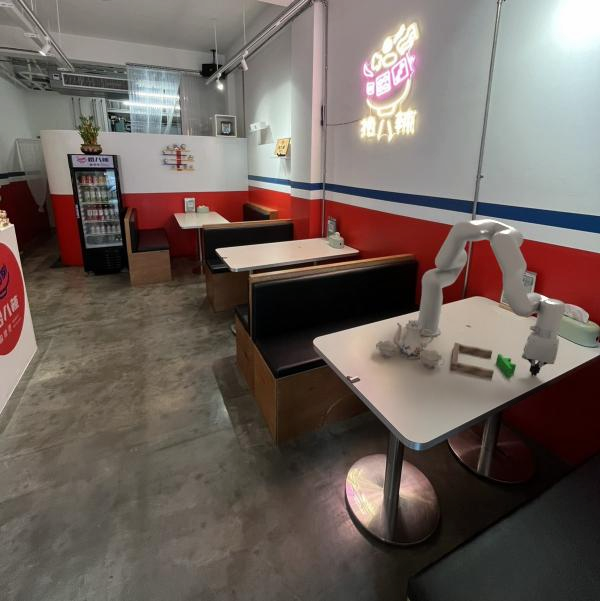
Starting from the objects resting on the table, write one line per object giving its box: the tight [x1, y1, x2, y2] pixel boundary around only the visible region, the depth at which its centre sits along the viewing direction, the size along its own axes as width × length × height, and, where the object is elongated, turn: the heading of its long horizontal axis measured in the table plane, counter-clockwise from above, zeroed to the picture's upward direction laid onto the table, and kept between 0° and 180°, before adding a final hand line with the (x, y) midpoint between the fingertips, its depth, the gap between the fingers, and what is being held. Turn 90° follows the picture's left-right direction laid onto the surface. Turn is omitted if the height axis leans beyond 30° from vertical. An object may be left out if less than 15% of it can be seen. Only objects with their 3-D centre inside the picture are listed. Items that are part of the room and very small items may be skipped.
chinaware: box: [375, 319, 445, 369], centre depth 153 cm, size 28×17×17 cm, turn 70°
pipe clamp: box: [495, 353, 517, 379], centre depth 146 cm, size 11×4×5 cm, turn 173°
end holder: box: [450, 342, 495, 379], centre depth 152 cm, size 15×20×3 cm
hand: (533, 373), depth 144 cm, fingers closed
